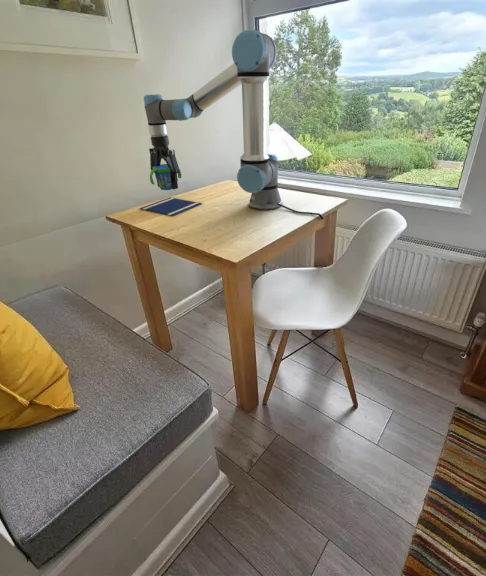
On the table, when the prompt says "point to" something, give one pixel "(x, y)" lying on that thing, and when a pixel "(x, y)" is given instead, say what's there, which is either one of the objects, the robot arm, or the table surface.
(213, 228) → the table surface
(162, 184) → the snack cup
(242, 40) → the robot arm
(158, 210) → the towel
